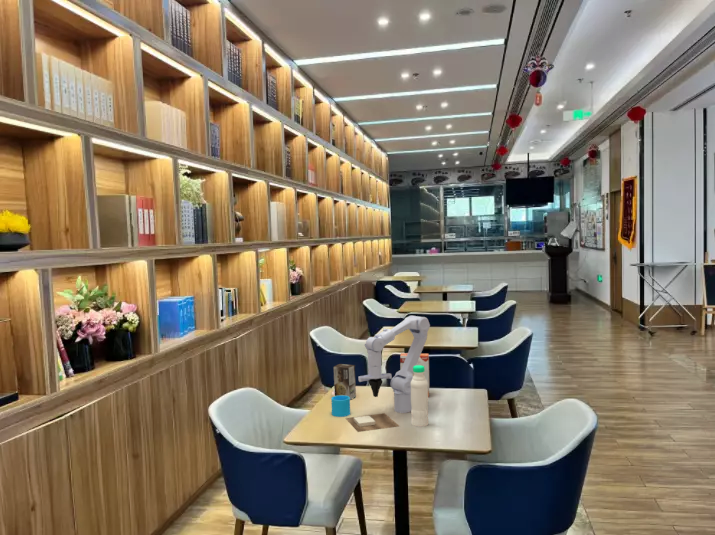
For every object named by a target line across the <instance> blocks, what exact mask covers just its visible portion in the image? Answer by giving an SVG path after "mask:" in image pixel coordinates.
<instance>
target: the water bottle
mask: <svg viewBox="0 0 715 535" xmlns="http://www.w3.org/2000/svg"><path fill="white" fill-rule="evenodd" d="M424 371H425V368H424V366H422V365H416V366H414V367H413V372H414V376H413V379H412V381H411V407H412V409H411V413H410V415H411V425H412V426H414V427H426V426H428V425H429V422H430V421H429V409H428V408H429V407H428V406H429V397H428V389H427V386H428V383H427V380H426V378H425V376H424Z"/></svg>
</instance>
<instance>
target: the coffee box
mask: <svg viewBox="0 0 715 535" xmlns="http://www.w3.org/2000/svg"><path fill="white" fill-rule="evenodd" d="M333 381H334V382H333V385H334V396H340V395H344V396H349V397H350V401H351V400H353V399H355V398H356V397H357V390H356V364H346V363H345V364H344V363H339V364H336V365H334V366H333ZM354 397H355V398H354ZM352 398H353V399H352Z"/></svg>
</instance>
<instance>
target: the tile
mask: <svg viewBox="0 0 715 535" xmlns="http://www.w3.org/2000/svg"><path fill="white" fill-rule="evenodd" d="M361 416H362V417H359V416H353V417H354V422H355V423H356V424H357V425H358V426H359V427H362V426H369V425H375V421H374V420H373V419H372V418H371V417H370V416H367V415H361Z"/></svg>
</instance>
